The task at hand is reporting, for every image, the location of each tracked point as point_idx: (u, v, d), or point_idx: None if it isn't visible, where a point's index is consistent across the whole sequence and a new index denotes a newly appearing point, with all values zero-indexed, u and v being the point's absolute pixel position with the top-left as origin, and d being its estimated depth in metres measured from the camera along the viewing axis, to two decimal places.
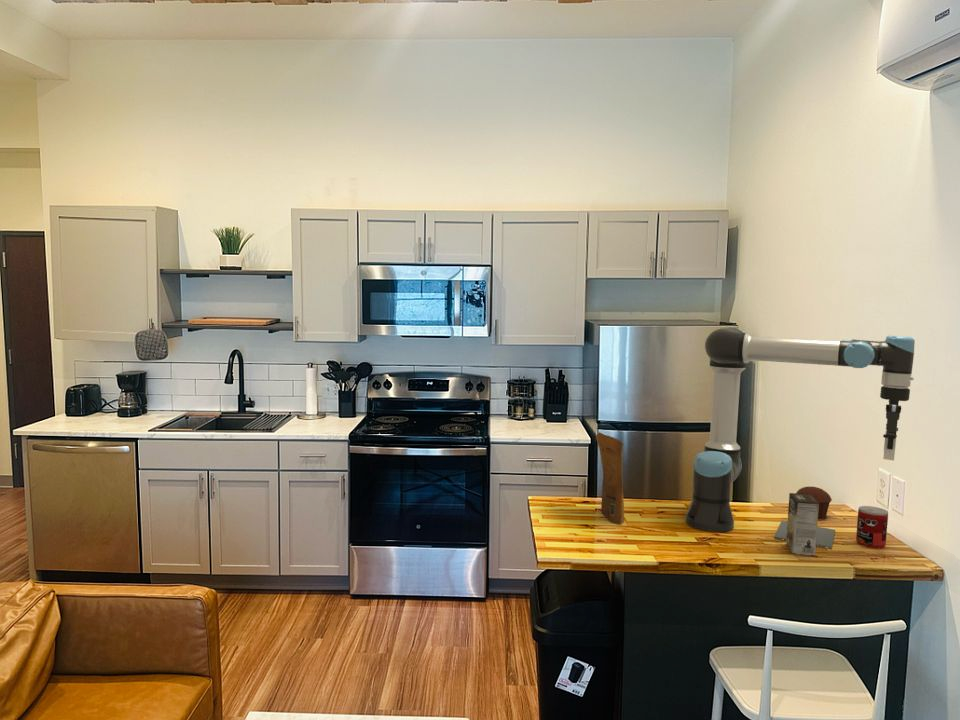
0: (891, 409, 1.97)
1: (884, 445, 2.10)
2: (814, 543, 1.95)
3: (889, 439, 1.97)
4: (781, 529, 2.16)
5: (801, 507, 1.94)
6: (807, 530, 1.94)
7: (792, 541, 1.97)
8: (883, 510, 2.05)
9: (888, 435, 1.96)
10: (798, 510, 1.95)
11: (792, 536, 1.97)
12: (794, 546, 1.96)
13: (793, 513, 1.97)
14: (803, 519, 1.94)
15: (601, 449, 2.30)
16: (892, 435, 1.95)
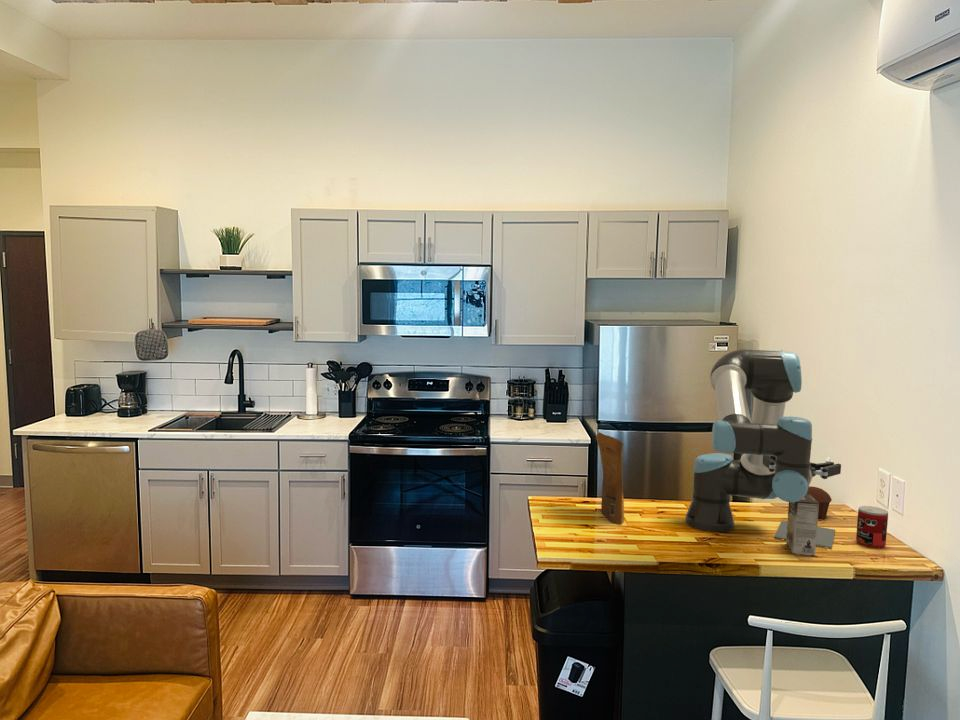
0: None
1: None
2: (814, 543, 1.95)
3: None
4: (781, 529, 2.16)
5: (801, 507, 1.94)
6: (807, 530, 1.94)
7: (792, 541, 1.97)
8: (883, 510, 2.05)
9: None
10: (798, 510, 1.95)
11: (792, 536, 1.97)
12: (794, 546, 1.96)
13: (793, 513, 1.97)
14: (803, 519, 1.94)
15: (601, 449, 2.30)
16: None
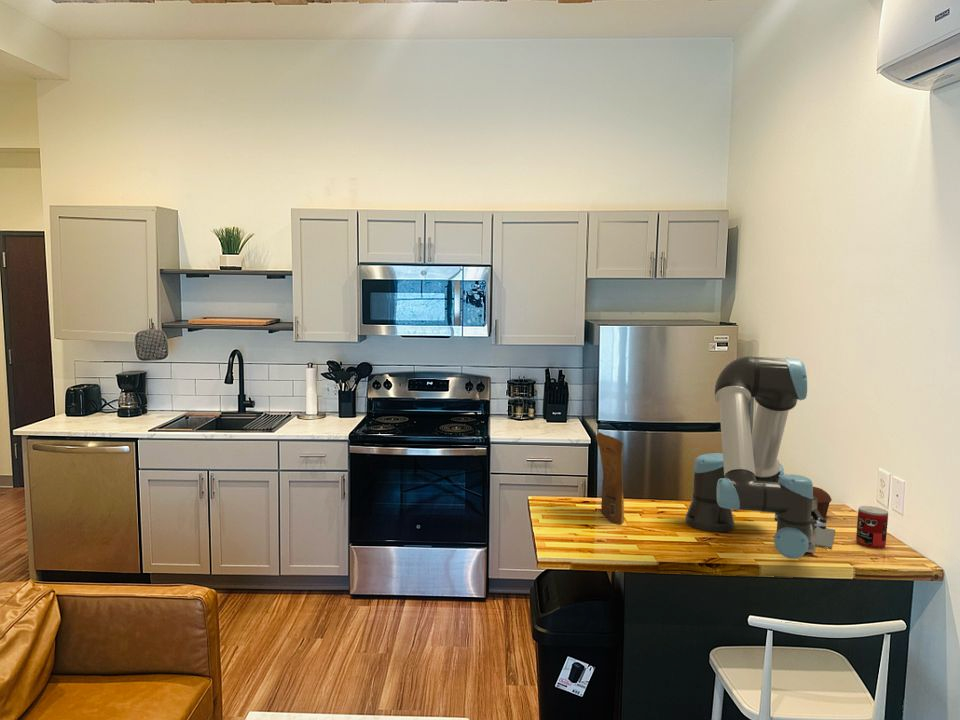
0: None
1: None
2: (814, 539, 1.95)
3: None
4: None
5: None
6: None
7: None
8: (883, 510, 2.05)
9: None
10: None
11: None
12: None
13: None
14: None
15: (601, 449, 2.30)
16: None
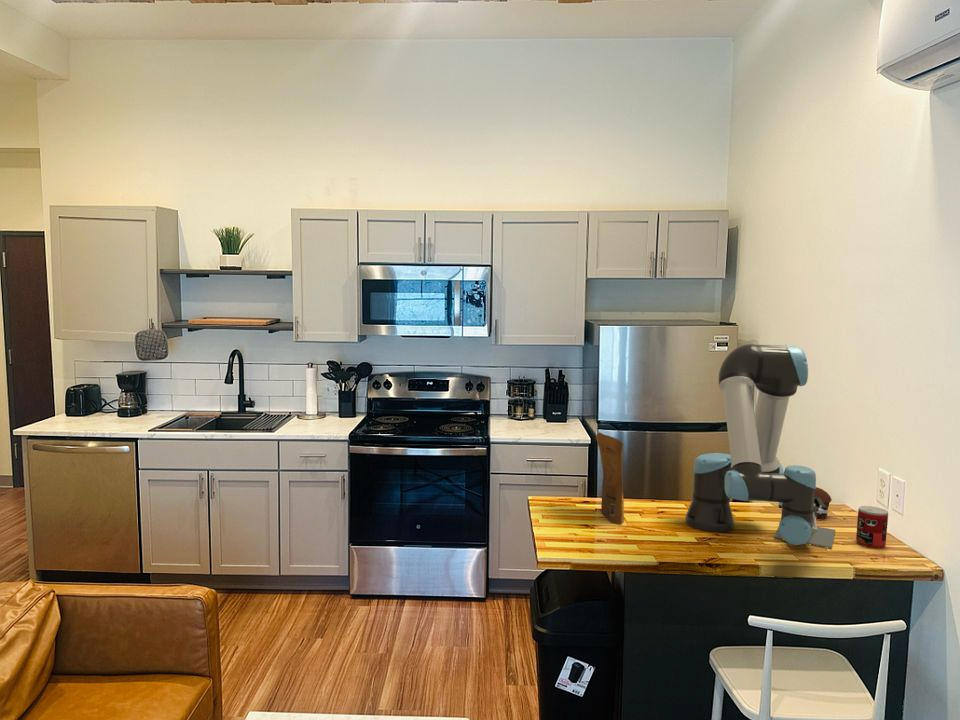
0: None
1: None
2: (815, 518, 2.00)
3: None
4: None
5: None
6: None
7: None
8: (883, 510, 2.05)
9: None
10: None
11: None
12: None
13: None
14: None
15: (601, 449, 2.30)
16: None
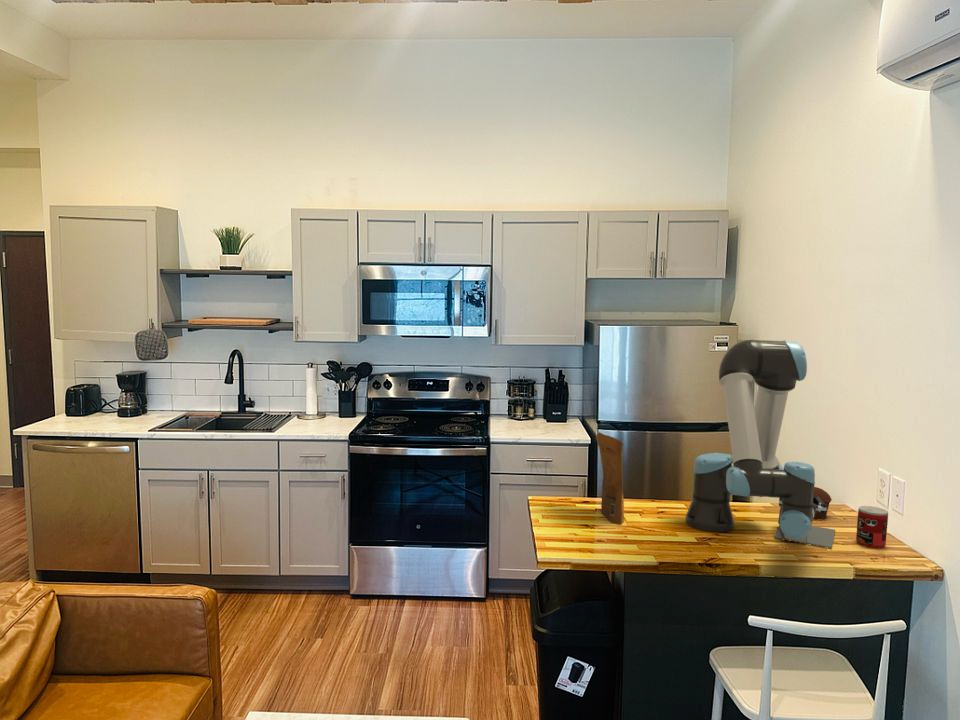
0: None
1: None
2: None
3: None
4: None
5: None
6: None
7: None
8: (883, 510, 2.05)
9: None
10: None
11: None
12: None
13: None
14: None
15: (601, 449, 2.30)
16: None
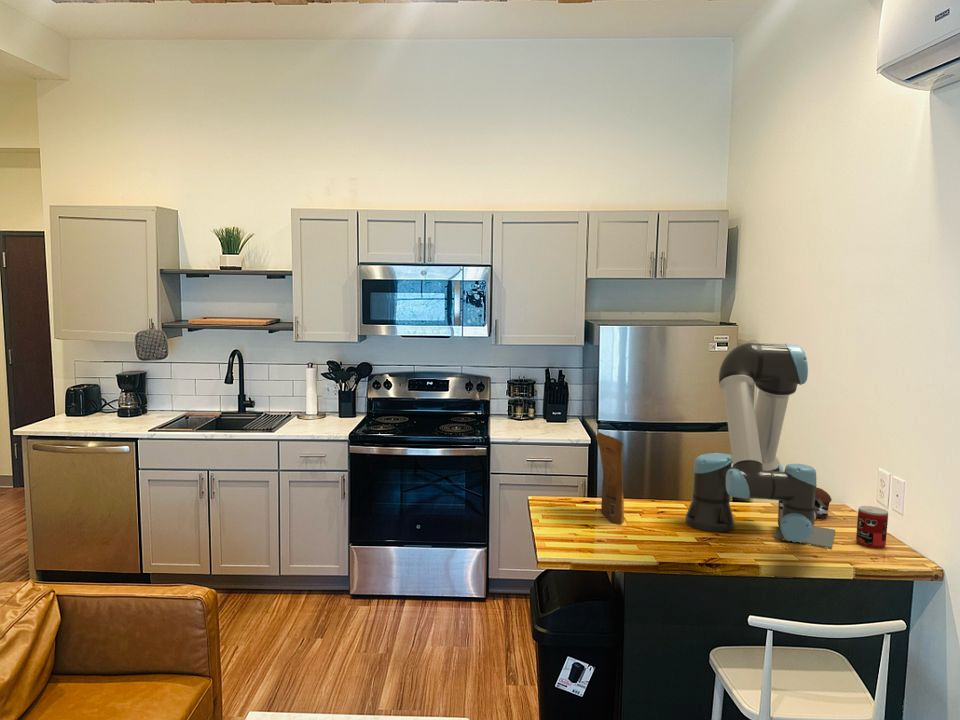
0: None
1: None
2: None
3: None
4: None
5: None
6: None
7: None
8: (883, 510, 2.05)
9: None
10: None
11: None
12: None
13: None
14: None
15: (601, 449, 2.30)
16: None
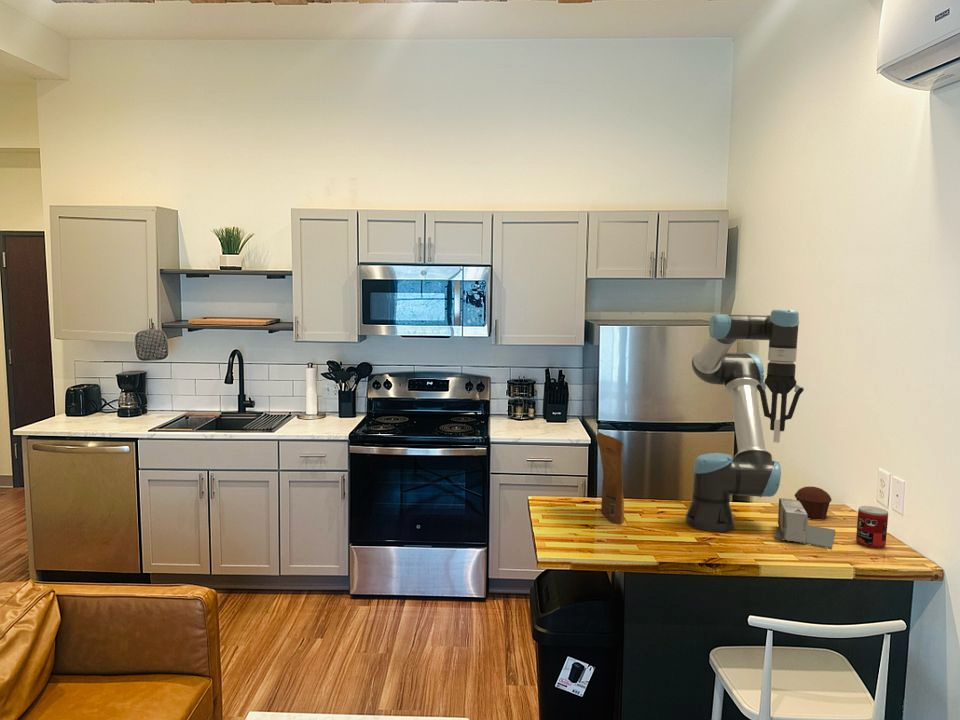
0: None
1: None
2: (804, 510, 2.07)
3: (770, 419, 1.98)
4: None
5: (784, 500, 2.18)
6: (795, 506, 2.11)
7: (784, 513, 2.08)
8: (883, 510, 2.05)
9: None
10: (782, 500, 2.17)
11: (783, 512, 2.09)
12: (786, 510, 2.07)
13: (780, 508, 2.16)
14: (789, 503, 2.14)
15: (601, 449, 2.30)
16: (765, 415, 1.98)
